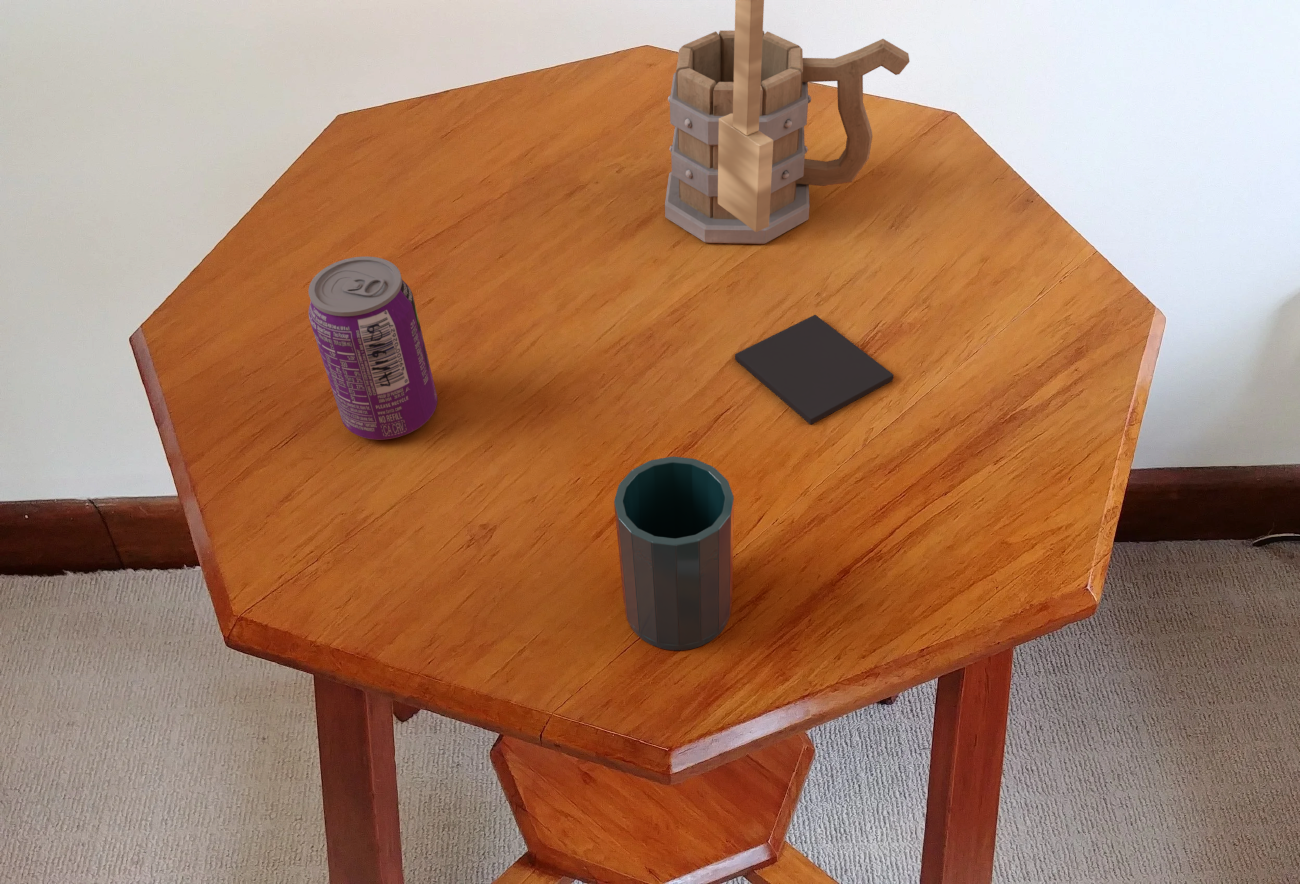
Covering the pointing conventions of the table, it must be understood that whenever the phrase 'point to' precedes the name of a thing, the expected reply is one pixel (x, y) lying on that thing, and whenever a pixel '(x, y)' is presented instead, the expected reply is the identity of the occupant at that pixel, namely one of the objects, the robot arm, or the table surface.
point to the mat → (813, 368)
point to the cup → (676, 551)
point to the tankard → (763, 130)
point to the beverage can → (372, 347)
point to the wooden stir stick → (746, 127)
